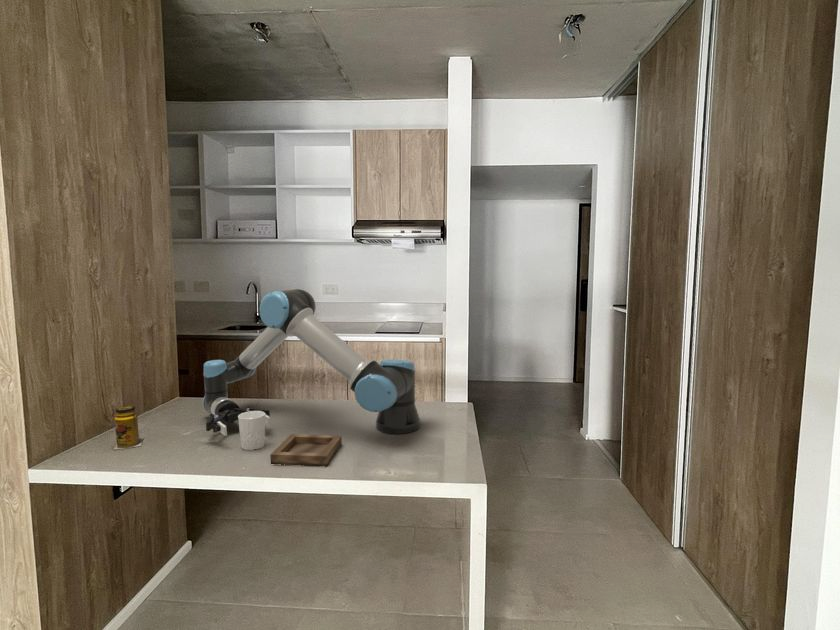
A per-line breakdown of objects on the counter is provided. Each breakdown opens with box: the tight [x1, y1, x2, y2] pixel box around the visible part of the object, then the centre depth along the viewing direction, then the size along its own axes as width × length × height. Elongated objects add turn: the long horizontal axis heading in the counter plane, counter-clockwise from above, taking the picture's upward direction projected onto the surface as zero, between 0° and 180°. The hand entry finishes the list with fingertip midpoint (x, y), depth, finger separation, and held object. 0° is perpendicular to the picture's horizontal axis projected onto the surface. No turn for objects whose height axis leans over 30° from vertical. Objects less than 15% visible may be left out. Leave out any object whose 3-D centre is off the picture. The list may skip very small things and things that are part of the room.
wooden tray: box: [269, 433, 343, 468], centre depth 143 cm, size 16×16×3 cm
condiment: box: [113, 405, 145, 450], centre depth 153 cm, size 7×8×12 cm
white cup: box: [237, 411, 266, 451], centre depth 150 cm, size 8×8×10 cm
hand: (247, 426), depth 151 cm, fingers open, 13 cm apart
